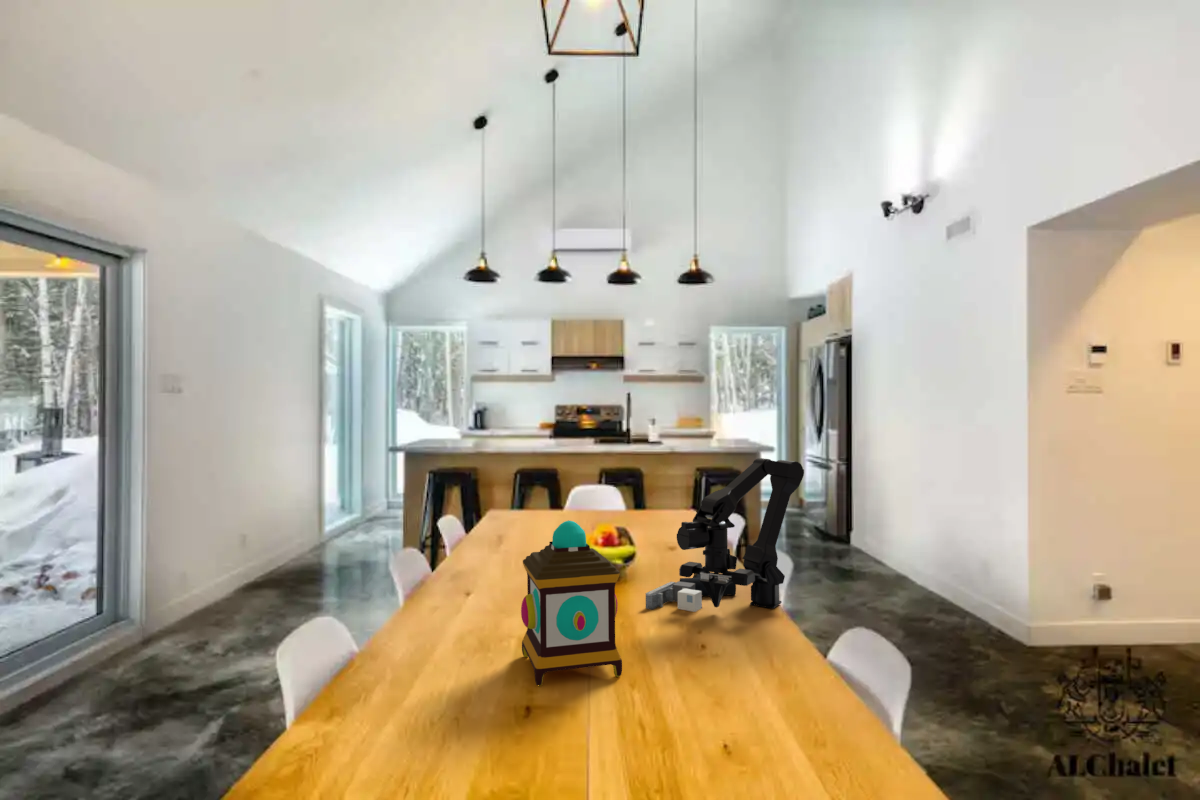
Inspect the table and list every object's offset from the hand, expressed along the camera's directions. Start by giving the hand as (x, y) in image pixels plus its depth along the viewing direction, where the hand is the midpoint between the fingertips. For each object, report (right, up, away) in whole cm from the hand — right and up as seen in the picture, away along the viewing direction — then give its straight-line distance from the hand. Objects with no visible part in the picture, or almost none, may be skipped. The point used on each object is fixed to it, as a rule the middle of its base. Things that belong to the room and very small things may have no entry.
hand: (716, 606), depth 177 cm
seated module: (-7, -2, +12) cm, 14 cm away
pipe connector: (0, -2, +20) cm, 20 cm away
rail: (-13, -2, +10) cm, 16 cm away
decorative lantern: (-36, -2, -35) cm, 50 cm away
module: (-6, -2, +4) cm, 8 cm away
